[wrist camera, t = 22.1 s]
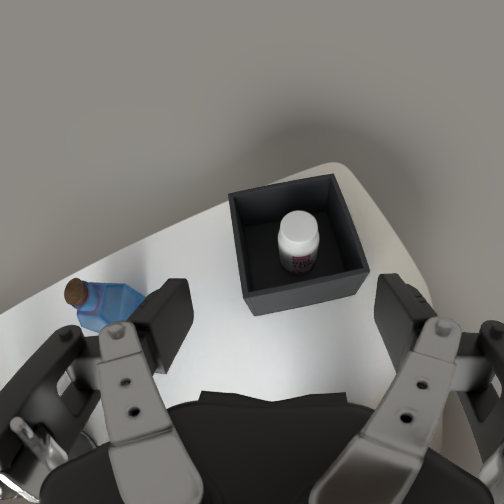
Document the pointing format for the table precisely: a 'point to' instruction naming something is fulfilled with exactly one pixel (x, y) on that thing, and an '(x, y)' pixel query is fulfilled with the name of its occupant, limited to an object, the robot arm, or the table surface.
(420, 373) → the robot arm
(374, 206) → the table surface
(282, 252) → the pill bottle
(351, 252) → the open box
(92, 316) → the perfume bottle
